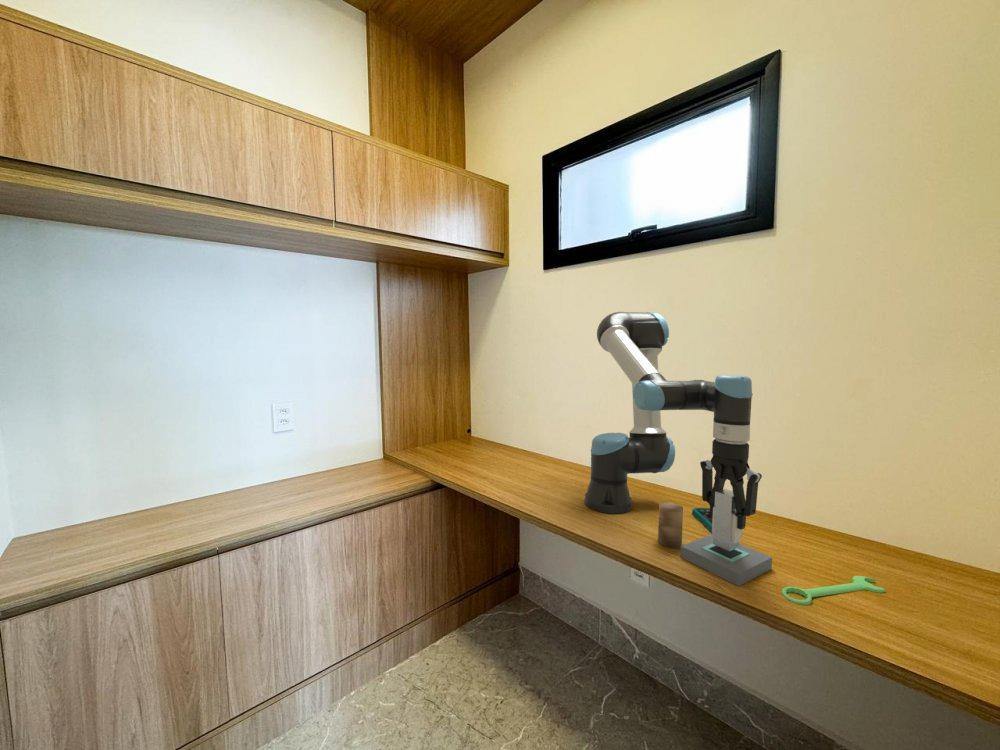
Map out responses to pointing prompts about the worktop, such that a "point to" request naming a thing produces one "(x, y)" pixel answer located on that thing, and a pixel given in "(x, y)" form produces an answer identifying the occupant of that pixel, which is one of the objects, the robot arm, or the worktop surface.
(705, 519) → the digital multimeter
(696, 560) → the socket plate
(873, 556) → the worktop surface
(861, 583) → the wrench
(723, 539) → the square bit
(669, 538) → the round dowel
